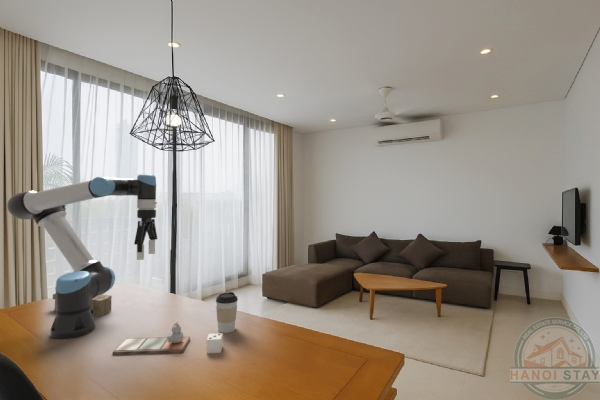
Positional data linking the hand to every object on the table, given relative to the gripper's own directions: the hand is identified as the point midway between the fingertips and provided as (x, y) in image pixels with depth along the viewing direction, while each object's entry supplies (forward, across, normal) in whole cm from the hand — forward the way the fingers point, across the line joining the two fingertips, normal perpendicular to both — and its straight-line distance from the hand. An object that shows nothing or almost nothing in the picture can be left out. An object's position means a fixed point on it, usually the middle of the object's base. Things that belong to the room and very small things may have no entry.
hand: (146, 256), depth 146 cm
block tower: (+29, +15, +34) cm, 48 cm away
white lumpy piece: (+28, -26, -20) cm, 43 cm away
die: (+29, -30, -35) cm, 54 cm away
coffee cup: (+29, -12, -37) cm, 48 cm away
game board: (+29, -26, -12) cm, 41 cm away
